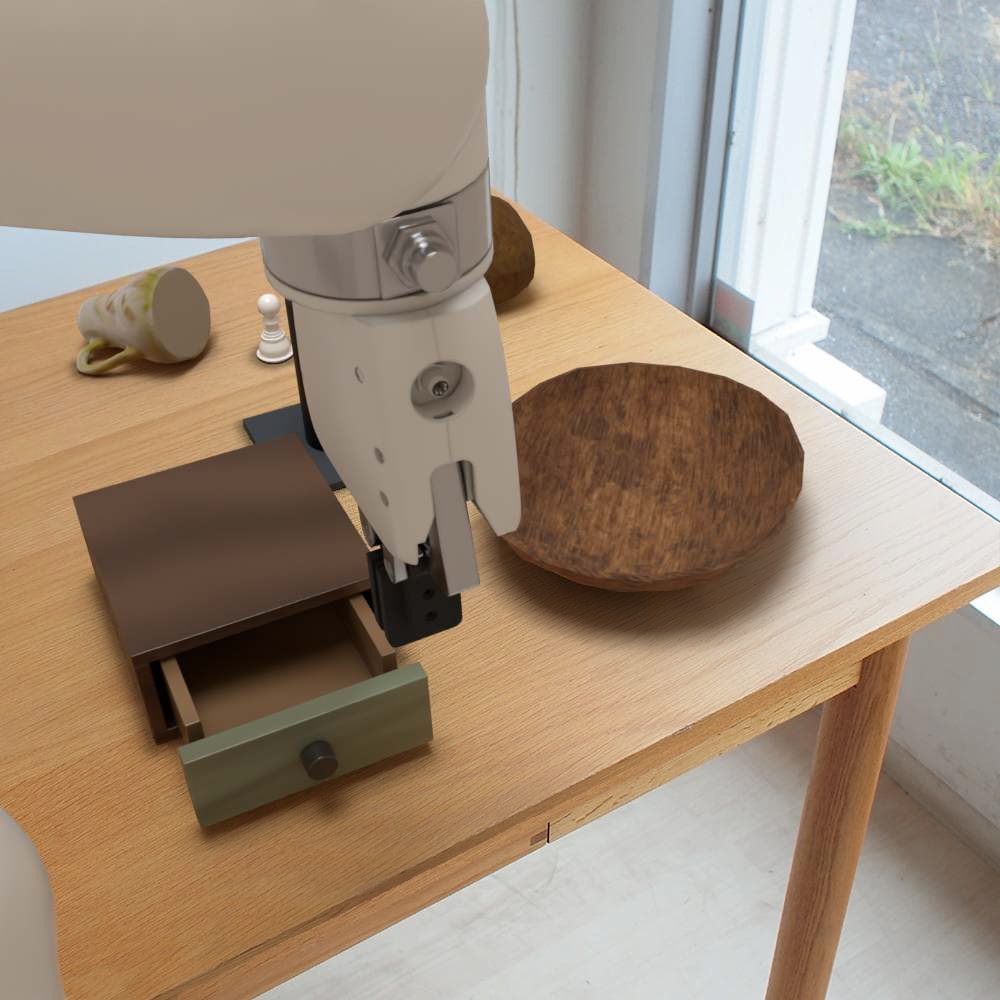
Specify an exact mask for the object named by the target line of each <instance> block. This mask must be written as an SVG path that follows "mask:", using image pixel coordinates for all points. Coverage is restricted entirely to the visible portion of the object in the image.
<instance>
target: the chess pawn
mask: <svg viewBox="0 0 1000 1000" xmlns="http://www.w3.org/2000/svg"><path fill="white" fill-rule="evenodd" d="M281 307H282V306H281V301H280V299H279V298H278V296H277V295H275V294H273V293H264V294H262V295H261V296H260V297H259V298H258V300H257V303H256V308H257V310H258V312H259V314H261V315H262V316H263V318H262V319H261V322H262V325H264V326H265V327H264V328H263V331H262V332H261V334H260V337H261V338H260V340H259V342H258V348H257V350H256V357H257V358H258V359H259V360H261V361H263V362H265V363H270V364H276V363H281V362H284V361H287V360H288V359H290V358H291V357H293V351H292V344H291V340H290V339H289V337H288V336H287V335H286V332H285V330H284V329H283V328H282V327H281V326H280V325H279V323H280V322H281V320H282V319H281V317H280V316H279V315H278V313H279V312H280V310H281Z"/></svg>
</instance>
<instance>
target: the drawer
mask: <svg viewBox="0 0 1000 1000" xmlns="http://www.w3.org/2000/svg"><path fill="white" fill-rule="evenodd" d="M153 662H154V665H155V668H156V670H157V673H158V675H159V678H160V681H161V683H162V686H163V688H164V691H165V694H166V696H167V699H168V701H169V704H170V707H171V709H172V712H173V714H174V717H175V720H176V722H177V725H178V727H179V730H180V733H181V735H182V736H181V738H182V740H183V743H184V745H181V746H179V747H177V754H178V756H179V760H180V763H181V768H182V772H183V776H184V778H185V782H186V785H187V789H188V793H189V797H190V800H191V803H192V807H193V811H194V814H195V818H196V819H197V822H198V824H199V828H201V829H204V828H208V827H210V826H212V825H216V824H218V823H221V822H223V821H225V820H228V819H231V818H233V817H236V816H239V815H241V814H244V813H247V812H249V811H252V810H254V809H257V808H259V807H260V808H261V807H263V806H264V805H267V804H270V803H273V802H276V801H279V800H281V799H283V798H286V797H289V796H292V795H294V794H296V793H299V792H302V791H305V790H307V789H309V788H312V787H315V786H317V785H320V784H322V783H325V782H328V781H330V780H333V779H336V778H339V777H342V776H344V775H346V774H349V773H351V772H353V771H356V770H359V769H362V768H364V767H367V766H369V765H370V766H371V765H373V764H375V763H377V762H380V761H383V760H385V759H388V758H390V757H393V756H396V755H398V754H401V753H404V752H406V751H409V750H411V749H415V748H417V747H420V746H422V745H424V744H425V745H426V744H428V743H430V742H433V741H434V738H435V737H434V729H433V719H432V708H431V698H430V696H431V695H430V686H429V675H428V674H427V672H426V671H425V669H424V667H423V665H422V664H421V662H420V661H415V662H413V663H409V664H407V665H404V666H402V667H399V665H398V656H397V650H396V648H394V647H392V646H390V644H389V642H388V641H387V639H386V637H385V632H384V631H383V630H381V629H380V627H379V625H378V624H377V622H376V620H375V615H374V614H373V612H372V610H371V609H370V607H369V605H368V604H367V602H366V600H365V598H364V597H363V595H362V593H361V592H358V593H356V594H353V595H350V596H347V597H344V598H341V599H338V600H335V601H332V602H329V603H326V604H323V605H320V606H317V607H314V608H311V609H308V610H305V611H302V612H299V613H296V614H293V615H290V616H287V617H284V618H281V619H278V620H275V621H272V622H269V623H266V624H263V625H260V626H257V627H254V628H251V629H248V630H245V631H242V632H239V633H236V634H233V635H230V636H227V637H224V638H221V639H218V640H215V641H212V642H210V643H207V644H204V645H201V646H198V647H195V648H192V649H189V650H186V651H183V652H180V653H177V654H174V655H171V656H168V657H165V658H162V659H159V660H156V661H153Z"/></svg>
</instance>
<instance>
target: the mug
mask: <svg viewBox="0 0 1000 1000" xmlns="http://www.w3.org/2000/svg"><path fill="white" fill-rule="evenodd" d="M211 319H212V318H211V306H210V301H209V299H208V297H207V295H206V293H205V290H204V289H203V287H202V286H201V284H200V282H199V281H198V280H197V278H195V276H194V275H193V274H192V273H190V272H189V271H188V270H187V269H185V268H182V267H179V266H159V267H154V268H151V269H148V270H146V271H143V272H142V273H139V274H137V275H136V276H134V277H132V278H131V279H130V280H129V281H127V282H126V283H124V284H123V285H122V286H120V287H119V288H117V289H116V290H115V291H113V292H110V293H106V294H101V295H94V296H90V297H89V298H86V300H84V301H83V303H81V305H80V307H79V310H78V313H77V316H76V324H77V328H78V330H79V333H80V334H81V336H82V338H83V339H84V340H85V341H86V342H87V343H88V344H87V345H86V346H85V347H83V348H82V349H81V350H80V352H79V353H78V354H77V357H76V363H75V364H76V369H77V370H78V371H79V372H80V373H82V374H85V375H94V376H95V375H100V374H104V373H106V372H109V371H111V370H113V369H116V368H117V367H120V366H122V365H124V364H128V363H130V362H134V361H137V360H138V361H139V360H141V359H145V360H147V361H151V362H154V363H159V364H177V363H181V362H184V361H187V360H192V359H195V358H197V357H199V356H200V354H201V353H202V352H203V351H204V349H205V347H206V345H207V343H208V341H209V338H210V333H211V326H212V325H211V323H212V321H211ZM105 348H119V349H123V351H121V352H119V353H116V354H115V355H113V356H110V358H108V359H106V360H104V361H101V362H100V363H95V364H88V363H89V359H90V357H91V356H92V354H93V353H95V352H96V351H97V350H101V349H105Z"/></svg>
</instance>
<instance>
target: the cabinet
mask: <svg viewBox="0 0 1000 1000" xmlns="http://www.w3.org/2000/svg"><path fill="white" fill-rule="evenodd" d="M71 499H72V502H73V505H74V509H75V511H76V515H77V519H78V521H79V526H80V528H81V532H82V535H83V538H84V543H85V545H86V548H87V552H88V556H89V559H90V562H91V566H92V568H93V572H94V576H95V580H96V582H97V585H98V588H99V591H100V593H101V596H102V599H103V602H104V605H105V608H106V610H107V613H108V616H109V618H110V622H111V624H112V627H113V629H114V632H115V634H116V638H117V640H118V643H119V646H120V649H121V651H122V654H123V657H124V660H125V663H126V665H127V669H128V671H129V674H130V677H131V679H132V682H133V685H134V688H135V691H136V693H137V696H138V698H139V702H140V704H141V707H142V710H143V712H144V715H145V718H146V721H147V724H148V727H149V730H150V732H151V735H152V738H153V740H154V744H155V745H160V744H163V743H166V742H168V741H171V740H174V739H177V738H179V737H182V735H181V733H180V730H179V727H178V725H177V722H176V720H175V717H174V714H173V712H172V709H171V707H170V704H169V701H168V699H167V696H166V694H165V691H164V688H163V686H162V683H161V681H160V678H159V675H158V673H157V670H156V668H155V665H154V662H153V661H156V660H159V659H162V658H165V657H168V656H171V655H174V654H177V653H180V652H183V651H186V650H189V649H192V648H195V647H198V646H201V645H204V644H207V643H210V642H212V641H215V640H218V639H221V638H224V637H227V636H230V635H233V634H236V633H239V632H242V631H245V630H248V629H251V628H254V627H257V626H260V625H263V624H266V623H269V622H272V621H275V620H278V619H281V618H284V617H287V616H290V615H293V614H296V613H299V612H302V611H305V610H308V609H311V608H314V607H317V606H320V605H323V604H326V603H329V602H332V601H335V600H338V599H341V598H344V597H347V596H350V595H353V594H356V593H358V592H361V593H362V595H363V597H364V598H365V600H366V602H367V604H368V605H369V607H370V609H371V610H372V612H373V614H374V615H375V613H374V606H373V599H372V592H371V584H370V577H369V570H368V563H367V555H366V553H367V552H370V549H369V548H370V547H368V544H367V543H366V542H365V541H364V539H363V537H362V536H361V534H360V533H359V531H358V529H357V528H356V526H355V524H354V523H353V521H352V520H351V518H350V517H349V515H348V513H347V511H346V510H345V508H344V507H343V505H342V504H341V502H340V501H339V499H338V497H337V495H335V493H334V490H333V491H332V489H331V488H330V486H329V485H328V483H327V481H326V480H325V478H324V477H323V475H322V473H321V472H320V470H319V469H318V467H317V465H316V464H315V462H314V461H313V459H312V457H311V456H310V454H309V453H308V451H307V449H306V448H305V446H304V445H303V443H302V442H301V440H300V438H299V437H298V435H297V434H296V432H295V433H291V434H288V435H284V436H281V437H277V438H274V439H270V440H267V441H263V442H260V443H257V444H254V443H253V444H250V445H247V446H243V447H239V448H236V449H232V450H229V451H226V452H222V453H219V454H216V455H211V456H209V457H205V458H202V459H198V460H195V461H191V462H188V463H184V464H180V465H178V466H177V465H176V466H174V467H171V468H166V469H163V470H160V471H156V472H153V473H149V474H145V475H143V476H139V477H136V478H133V479H129V480H126V481H123V482H118V483H114V484H111V485H108V486H104V487H100V488H99V489H98V488H97V489H95V490H91V491H87V492H84V493H80V494H77V495H73V496H72V498H71Z"/></svg>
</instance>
